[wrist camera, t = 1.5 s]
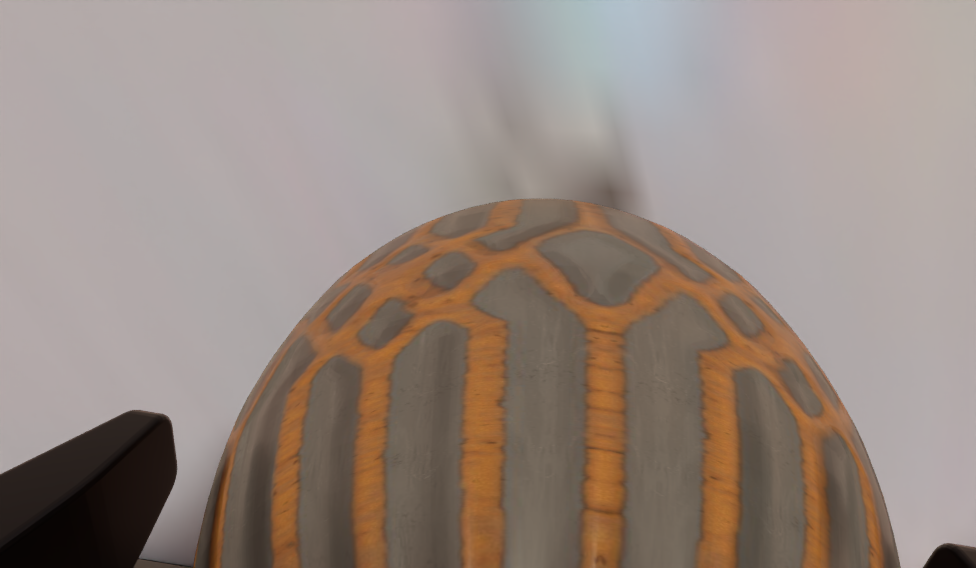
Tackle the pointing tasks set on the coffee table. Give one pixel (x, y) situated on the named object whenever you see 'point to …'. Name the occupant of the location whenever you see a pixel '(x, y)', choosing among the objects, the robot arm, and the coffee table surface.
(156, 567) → the stacked plates with bolts
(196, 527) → the coffee table surface
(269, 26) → the coffee table surface
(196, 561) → the vase
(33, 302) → the coffee table surface
